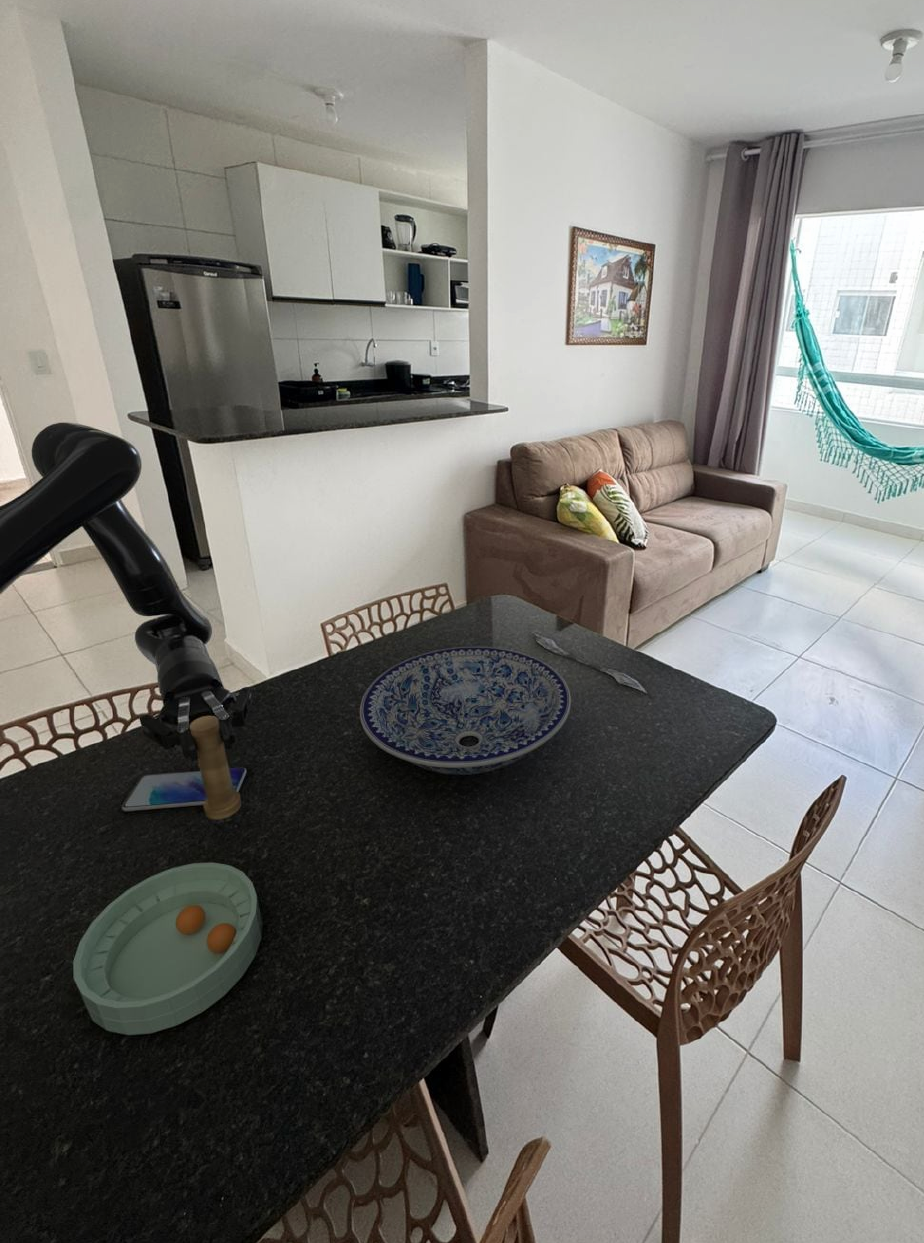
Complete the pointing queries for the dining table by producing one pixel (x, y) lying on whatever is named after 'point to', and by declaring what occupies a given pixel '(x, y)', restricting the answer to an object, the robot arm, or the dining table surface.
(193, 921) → the bead
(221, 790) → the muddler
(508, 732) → the ceramic bowl
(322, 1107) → the dining table surface
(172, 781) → the smartphone
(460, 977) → the dining table surface
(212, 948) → the bead
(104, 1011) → the pale green shallow dish
